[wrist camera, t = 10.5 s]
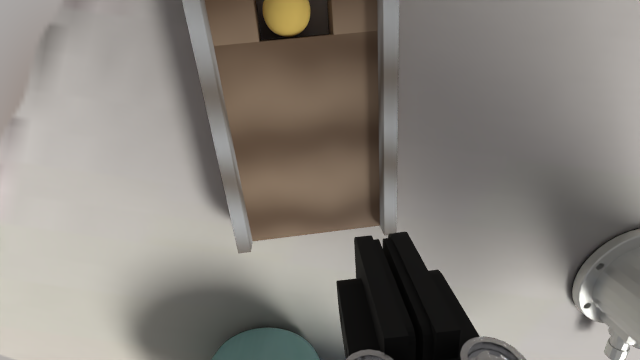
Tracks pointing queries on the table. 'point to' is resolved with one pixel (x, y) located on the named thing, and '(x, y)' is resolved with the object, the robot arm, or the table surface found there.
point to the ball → (286, 16)
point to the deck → (301, 117)
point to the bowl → (266, 346)
